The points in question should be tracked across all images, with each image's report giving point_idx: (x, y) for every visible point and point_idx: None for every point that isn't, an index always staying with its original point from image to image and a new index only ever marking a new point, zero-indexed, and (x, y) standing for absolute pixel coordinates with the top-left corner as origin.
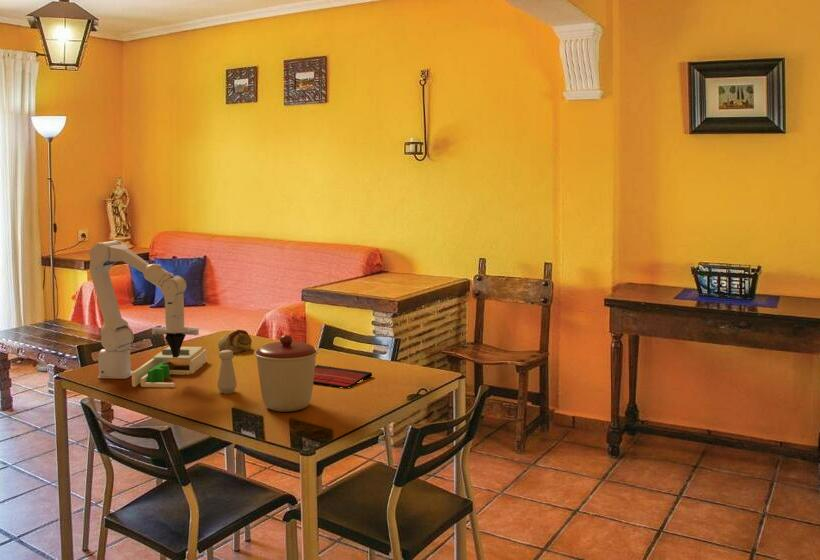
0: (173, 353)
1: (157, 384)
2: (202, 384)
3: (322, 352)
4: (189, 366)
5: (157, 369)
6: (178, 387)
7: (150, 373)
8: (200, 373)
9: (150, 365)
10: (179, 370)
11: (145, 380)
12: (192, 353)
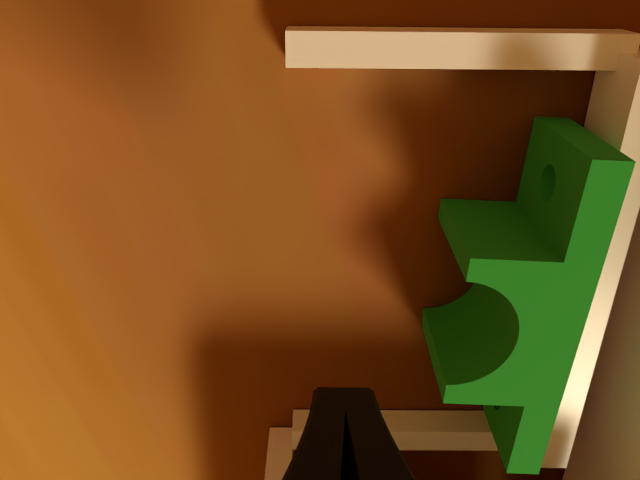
0: (363, 419)
1: (460, 31)
2: (47, 151)
3: None
4: None
5: (530, 258)
6: (236, 31)
7: (588, 150)
8: (214, 439)
9: (631, 441)
10: None
11: (611, 109)
12: None
